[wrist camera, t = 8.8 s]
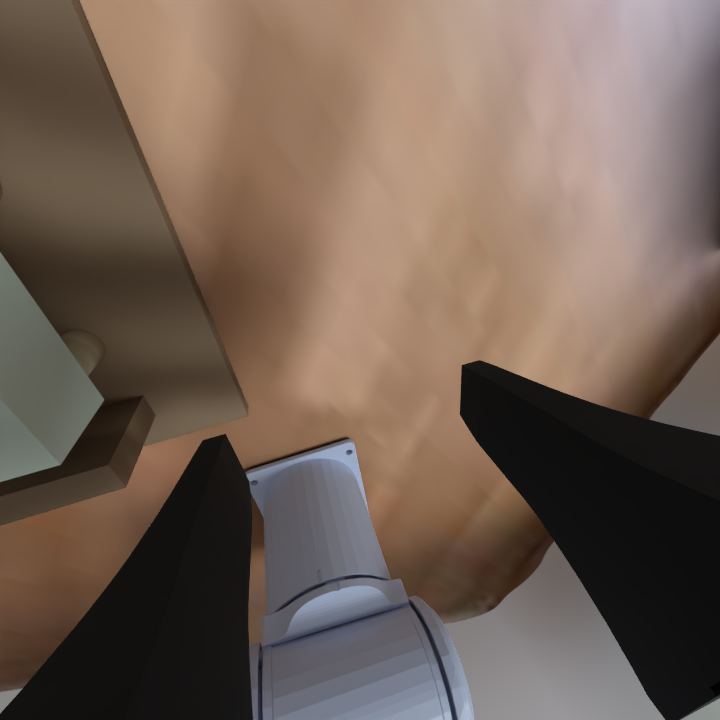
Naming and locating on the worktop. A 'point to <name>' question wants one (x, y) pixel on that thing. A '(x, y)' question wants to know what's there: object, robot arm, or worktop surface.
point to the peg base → (98, 258)
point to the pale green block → (37, 386)
